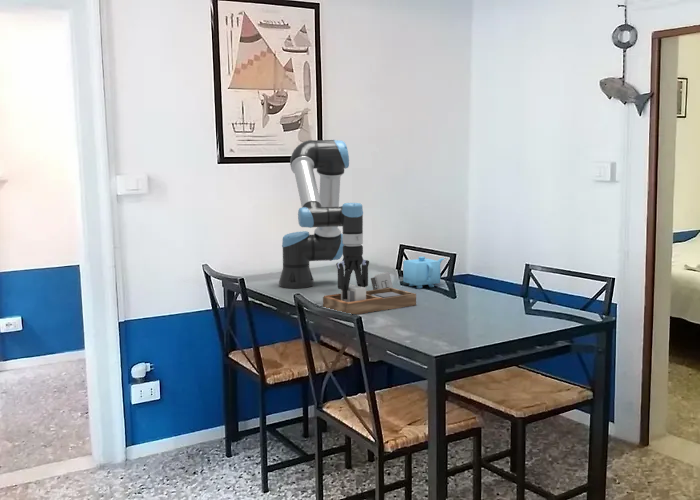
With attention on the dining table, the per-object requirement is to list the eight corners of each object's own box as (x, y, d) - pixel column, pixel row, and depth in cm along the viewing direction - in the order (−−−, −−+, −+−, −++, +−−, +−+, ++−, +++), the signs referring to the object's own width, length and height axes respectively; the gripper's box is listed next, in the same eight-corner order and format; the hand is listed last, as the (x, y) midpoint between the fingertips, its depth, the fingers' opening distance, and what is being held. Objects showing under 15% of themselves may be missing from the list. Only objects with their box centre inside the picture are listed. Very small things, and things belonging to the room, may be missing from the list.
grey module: (370, 304, 294) (370, 293, 294) (392, 302, 299) (392, 291, 298) (382, 309, 286) (382, 297, 286) (405, 306, 291) (405, 295, 291)
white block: (340, 306, 287) (340, 285, 286) (350, 304, 290) (350, 284, 289) (356, 310, 279) (355, 289, 278) (366, 309, 282) (366, 287, 281)
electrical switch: (381, 298, 306) (379, 275, 305) (370, 297, 309) (369, 275, 308) (394, 294, 313) (392, 272, 312) (384, 294, 316) (382, 272, 316)
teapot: (419, 290, 321) (419, 260, 319) (400, 284, 335) (400, 255, 333) (454, 286, 329) (455, 256, 328) (434, 280, 343) (434, 252, 341)
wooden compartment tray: (322, 308, 287) (322, 296, 286) (390, 298, 305) (390, 286, 304) (346, 316, 274) (346, 303, 273) (416, 305, 292) (416, 292, 291)
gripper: (338, 247, 274) (339, 311, 277) (378, 244, 283) (378, 305, 287) (327, 245, 280) (327, 307, 283) (366, 242, 290) (366, 302, 293)
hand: (353, 306), depth 285 cm, fingers closed on white block, 5 cm apart
